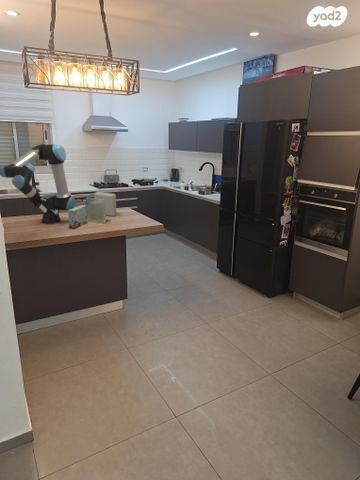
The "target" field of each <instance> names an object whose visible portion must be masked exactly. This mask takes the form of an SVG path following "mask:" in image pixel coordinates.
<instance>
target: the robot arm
mask: <svg viewBox="0 0 360 480" xmlns="http://www.w3.org/2000/svg"><path fill="white" fill-rule="evenodd" d="M66 158H67V153H66V150H65V148H64V147H63V146H62V145H60V144H37V145H35V146H32V147H31V148H29V149H28V150H27V152H26V153H24V154H23V155H21V156H20V157H19V158H17V159H15V160H14V161H13V162H11V163H10V164H8V165H1V166H0V177H2V178H8V179H10V178H12V179H11V183H12V185H13V186H14V187H15V188H16V189H17V190H19V192H20V193H22V194H23V195H24V196H25V197H26V198H27V199H28V200H30V202H31V203H32V204H33V206H34V207H37V208H39V209H40V210H41V212H42V216H41V217H42V218H41V223H42V224H46V225H47V224H49V225H50V224H57V223H60V222H61V221H62V219H61V218H62V217H60V214H59V211H67V212H68V210H70V209H72V208H75V205H76V198H75V196H73V195H72V193H71V192H69V188H68V184H67V178H66V173H65V169H64V163H65V160H66ZM38 161H48V165H50V166H51V171H52V175H53V179H54V185H55V188H56V192H57V193H47V194H43V195H42V196H41V193H40V192H39V191H38V190H37V189H36V188H35V187H34V186H33V185H31V181H32V178H33V177H34V174H35V171H36V170H35V169H36V168H35V166H34V165H33V163H35V162H38Z"/></svg>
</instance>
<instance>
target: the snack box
mask: <svg viewBox="0 0 360 480" xmlns="http://www.w3.org/2000/svg"><path fill="white" fill-rule="evenodd" d="M67 214H68V215H67V216H68V228H69V229H72V230H75V229H77V228H79V227H81V226H83V225H85V224H87V223H88V221H87V207H86V204H83V205H78V206H74V208H72V209H70V210H67Z"/></svg>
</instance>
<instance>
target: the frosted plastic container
mask: <svg viewBox="0 0 360 480" xmlns="http://www.w3.org/2000/svg"><path fill="white" fill-rule="evenodd" d="M85 206H86V207H87V222H94V223H101V224H105V223H108V222H111V219H108V218H106V216H107V215H105V199H97V198H94V197H85Z"/></svg>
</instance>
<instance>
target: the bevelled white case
mask: <svg viewBox="0 0 360 480" xmlns="http://www.w3.org/2000/svg"><path fill="white" fill-rule="evenodd" d="M93 198H97V199H105V216H107V217H115V216H117V194H116V193H108V192H101V191H97V192H94V193H93Z"/></svg>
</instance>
